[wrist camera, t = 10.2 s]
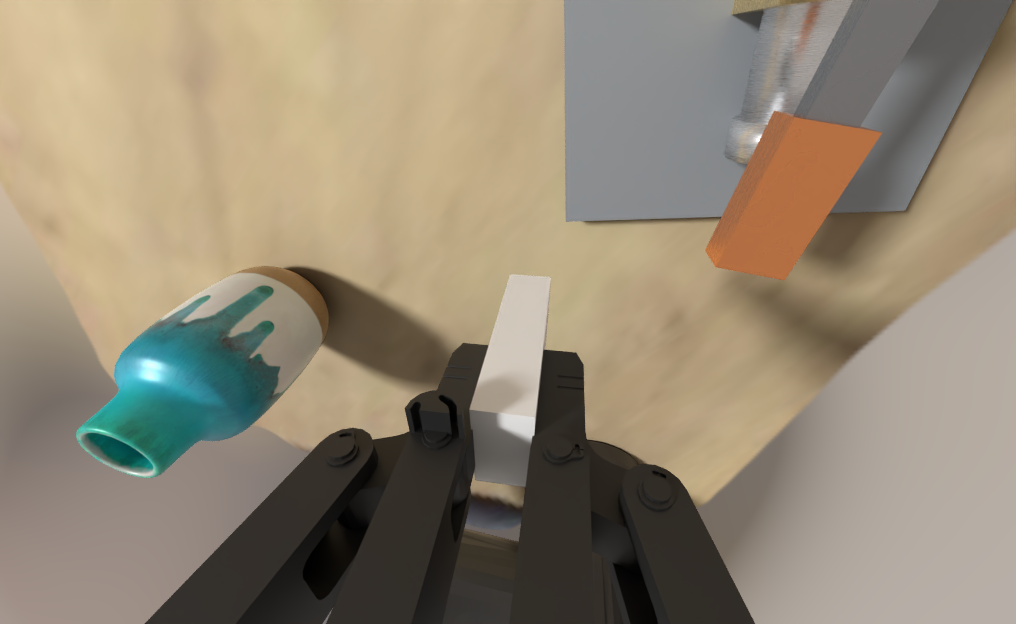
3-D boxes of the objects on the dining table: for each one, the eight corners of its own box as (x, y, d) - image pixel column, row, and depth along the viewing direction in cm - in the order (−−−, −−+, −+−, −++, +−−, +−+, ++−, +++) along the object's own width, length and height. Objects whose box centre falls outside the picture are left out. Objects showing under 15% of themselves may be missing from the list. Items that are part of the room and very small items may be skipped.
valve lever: (1104, -270, 10) (1196, -324, 8) (772, 263, 19) (788, 281, 18) (961, -287, 10) (1027, -344, 9) (701, 249, 19) (711, 266, 18)
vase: (290, 231, 35) (66, 377, 20) (366, 316, 40) (231, 487, 24) (227, 274, 40) (1, 422, 24) (302, 346, 44) (153, 509, 29)
